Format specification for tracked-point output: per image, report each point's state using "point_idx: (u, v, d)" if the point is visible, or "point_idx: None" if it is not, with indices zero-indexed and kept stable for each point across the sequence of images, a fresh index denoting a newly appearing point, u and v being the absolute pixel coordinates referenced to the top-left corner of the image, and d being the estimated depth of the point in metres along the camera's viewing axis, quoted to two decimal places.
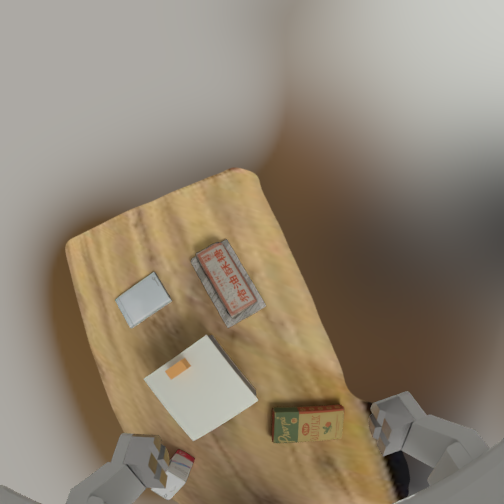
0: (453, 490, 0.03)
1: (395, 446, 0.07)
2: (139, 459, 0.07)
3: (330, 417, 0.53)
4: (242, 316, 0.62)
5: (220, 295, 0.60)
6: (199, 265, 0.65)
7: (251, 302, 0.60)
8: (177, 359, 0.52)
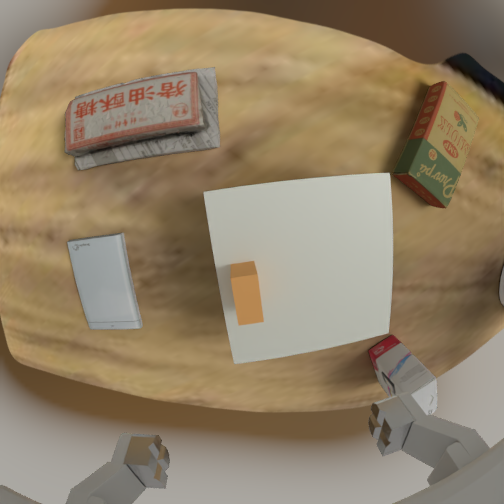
0: (453, 490, 0.03)
1: (395, 446, 0.07)
2: (139, 459, 0.07)
3: (449, 105, 0.26)
4: (211, 112, 0.28)
5: (150, 129, 0.25)
6: (90, 156, 0.28)
7: (193, 80, 0.25)
8: (226, 281, 0.25)
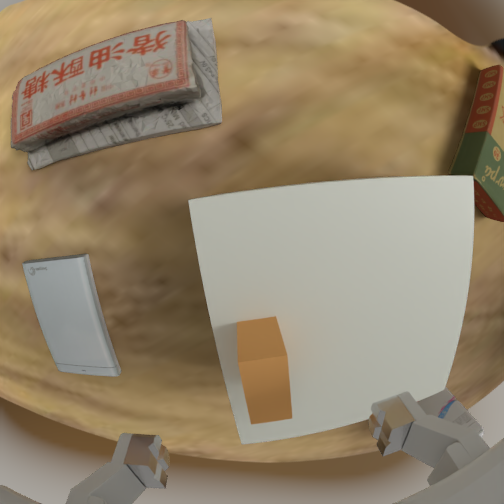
0: (453, 490, 0.03)
1: (395, 446, 0.07)
2: (139, 459, 0.07)
3: None
4: (208, 75, 0.18)
5: (117, 100, 0.15)
6: (45, 149, 0.18)
7: (180, 29, 0.14)
8: (229, 347, 0.15)
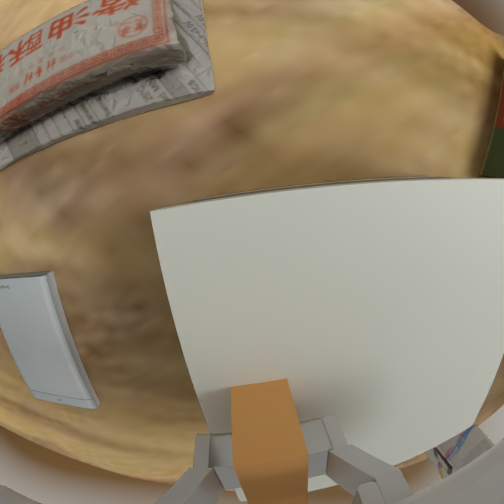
0: (453, 490, 0.03)
1: (316, 471, 0.07)
2: (226, 459, 0.07)
3: None
4: (195, 36, 0.13)
5: (79, 70, 0.10)
6: (5, 146, 0.13)
7: None
8: (221, 415, 0.10)
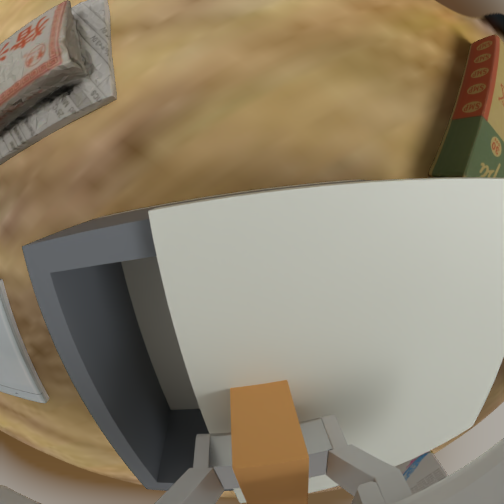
0: (453, 490, 0.03)
1: (316, 471, 0.07)
2: (226, 459, 0.07)
3: None
4: (98, 48, 0.12)
5: (0, 101, 0.10)
6: None
7: (58, 9, 0.09)
8: (221, 417, 0.09)
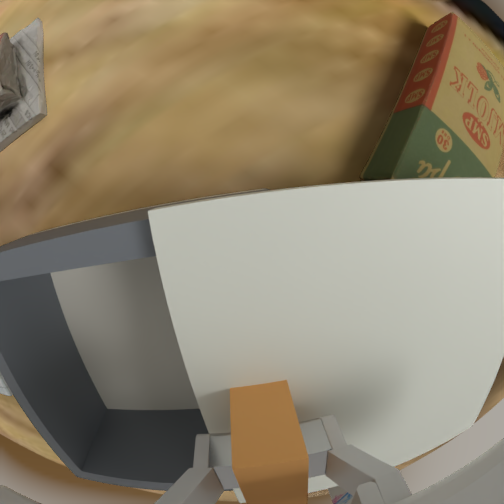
0: (453, 490, 0.03)
1: (315, 471, 0.07)
2: (226, 459, 0.07)
3: (467, 51, 0.11)
4: (31, 71, 0.12)
5: None
6: None
7: None
8: (220, 417, 0.09)
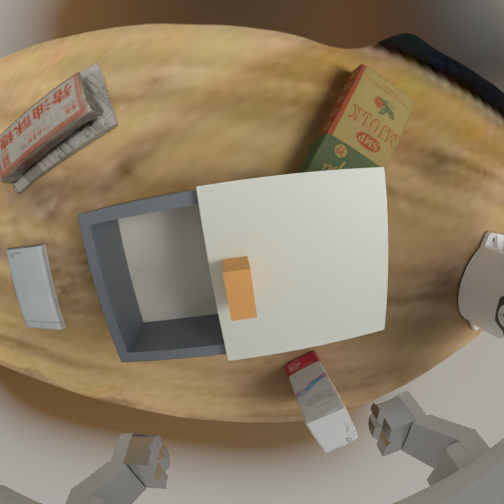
0: (453, 490, 0.03)
1: (395, 446, 0.07)
2: (139, 459, 0.07)
3: (368, 91, 0.26)
4: (102, 99, 0.26)
5: (53, 133, 0.24)
6: (23, 177, 0.27)
7: (75, 79, 0.23)
8: (219, 277, 0.24)
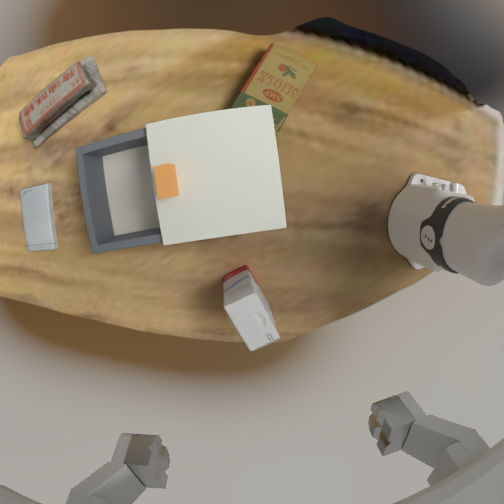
0: (453, 490, 0.03)
1: (395, 446, 0.07)
2: (139, 459, 0.07)
3: (273, 61, 0.36)
4: (96, 77, 0.37)
5: (63, 99, 0.35)
6: (40, 135, 0.38)
7: (77, 65, 0.33)
8: None
